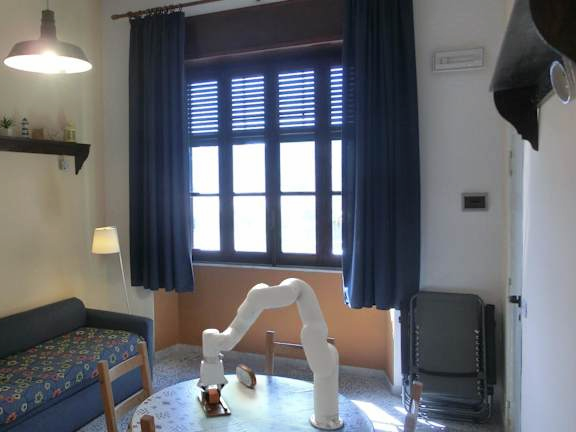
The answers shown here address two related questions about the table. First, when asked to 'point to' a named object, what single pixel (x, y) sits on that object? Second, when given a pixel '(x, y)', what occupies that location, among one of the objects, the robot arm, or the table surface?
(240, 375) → the tin
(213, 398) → the block
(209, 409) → the cradle
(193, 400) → the table surface
